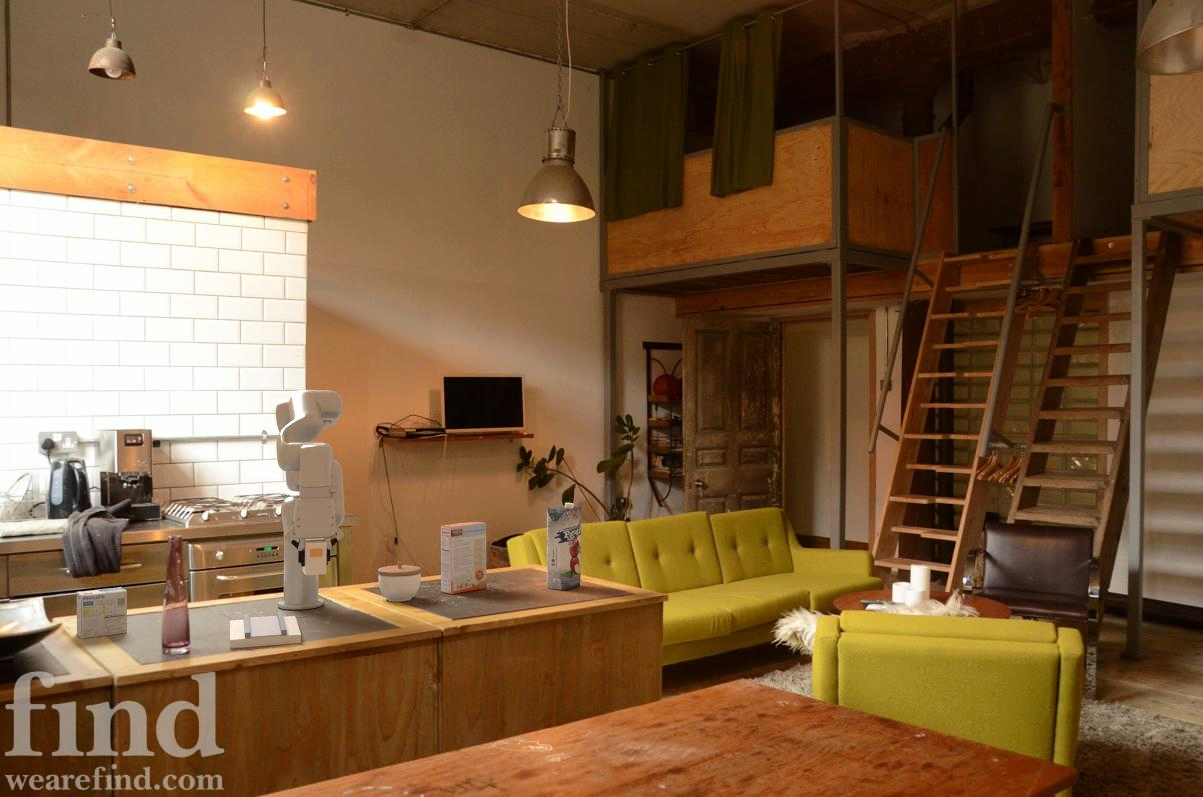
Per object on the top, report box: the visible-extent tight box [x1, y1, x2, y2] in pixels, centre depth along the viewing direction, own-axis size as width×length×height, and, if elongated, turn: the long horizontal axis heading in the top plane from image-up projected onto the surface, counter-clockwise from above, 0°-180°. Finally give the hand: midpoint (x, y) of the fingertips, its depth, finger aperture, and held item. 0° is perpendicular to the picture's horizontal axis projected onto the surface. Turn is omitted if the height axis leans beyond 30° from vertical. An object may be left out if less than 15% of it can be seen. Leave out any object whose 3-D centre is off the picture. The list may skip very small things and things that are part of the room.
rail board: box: [229, 611, 302, 649], centre depth 238 cm, size 22×16×3 cm
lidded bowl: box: [377, 561, 422, 603], centre depth 284 cm, size 13×13×11 cm
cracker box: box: [440, 521, 487, 595], centre depth 298 cm, size 14×6×21 cm, turn 136°
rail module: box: [303, 538, 327, 576], centre depth 242 cm, size 7×5×8 cm
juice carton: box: [546, 502, 582, 591], centre depth 304 cm, size 9×10×27 cm
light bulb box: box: [76, 586, 128, 639], centre depth 240 cm, size 11×7×11 cm, turn 129°
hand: (314, 564), depth 242 cm, fingers closed on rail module, 5 cm apart
